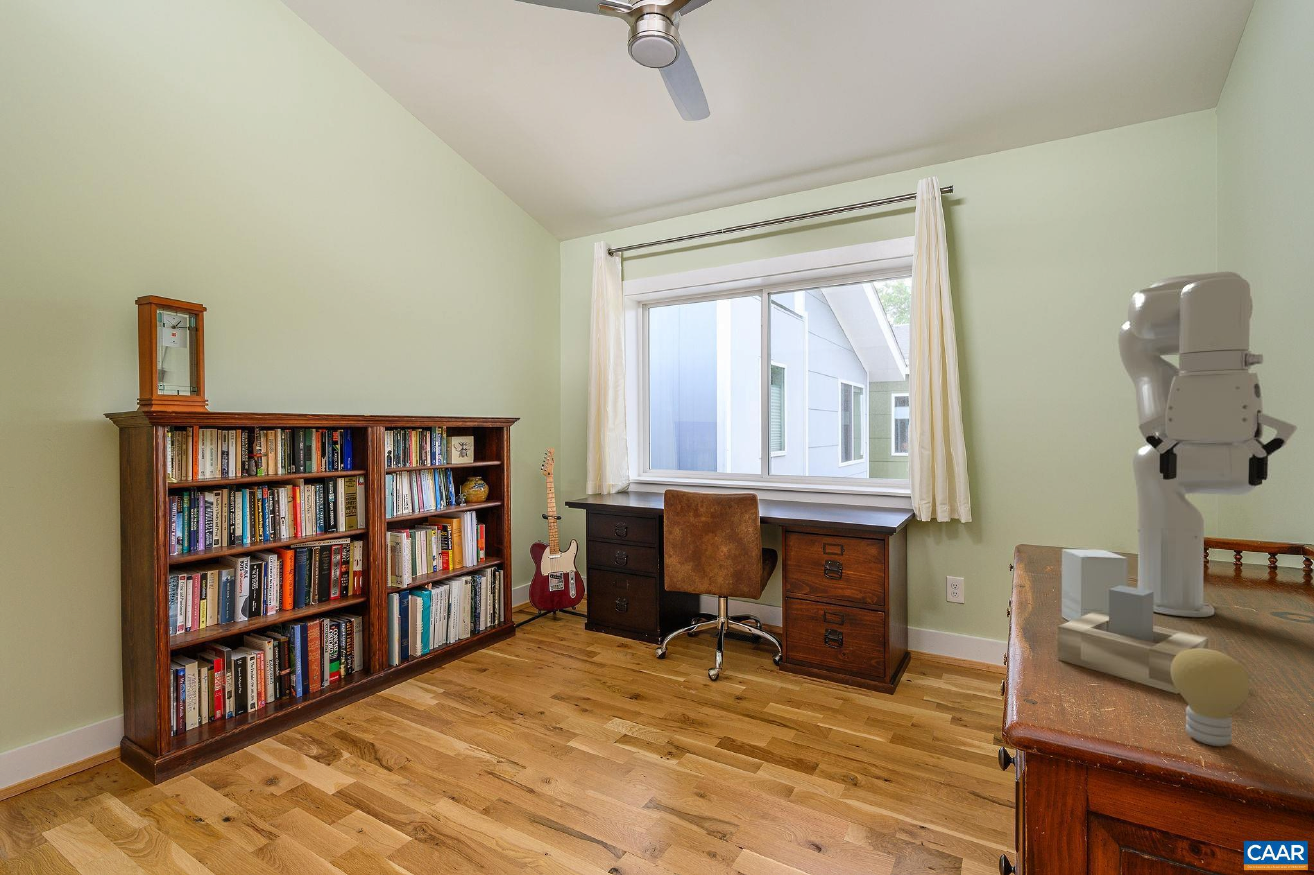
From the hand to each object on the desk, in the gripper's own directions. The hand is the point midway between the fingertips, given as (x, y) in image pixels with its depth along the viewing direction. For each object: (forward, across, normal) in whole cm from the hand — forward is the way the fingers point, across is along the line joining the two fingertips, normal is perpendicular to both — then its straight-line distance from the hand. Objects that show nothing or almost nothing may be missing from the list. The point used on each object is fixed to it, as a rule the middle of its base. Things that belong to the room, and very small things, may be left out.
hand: (1210, 481), depth 89 cm
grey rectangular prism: (+25, +5, +13) cm, 29 cm away
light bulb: (+26, -9, +31) cm, 41 cm away
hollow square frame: (+26, +5, +13) cm, 30 cm away
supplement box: (+27, +16, -4) cm, 32 cm away
